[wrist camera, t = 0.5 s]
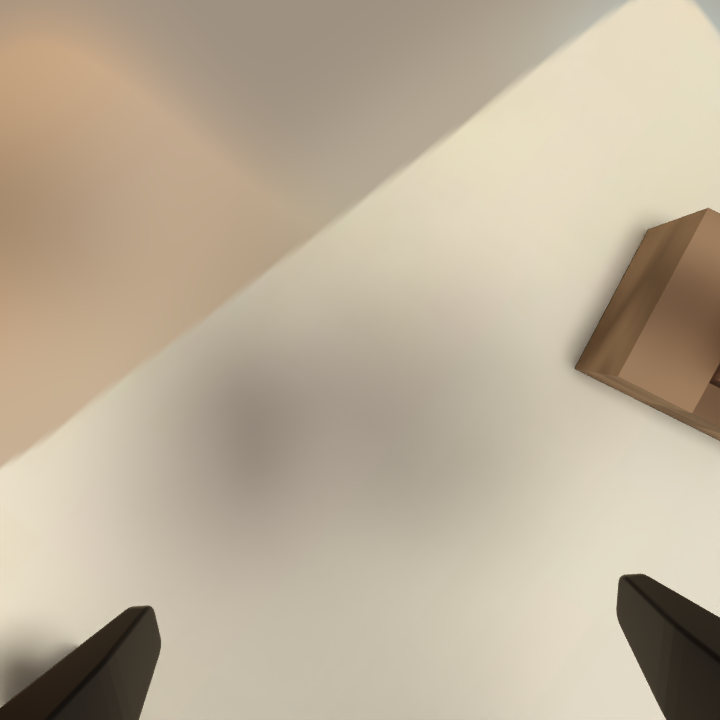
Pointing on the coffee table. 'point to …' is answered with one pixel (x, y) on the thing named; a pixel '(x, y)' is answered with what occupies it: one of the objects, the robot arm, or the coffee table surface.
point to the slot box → (666, 324)
